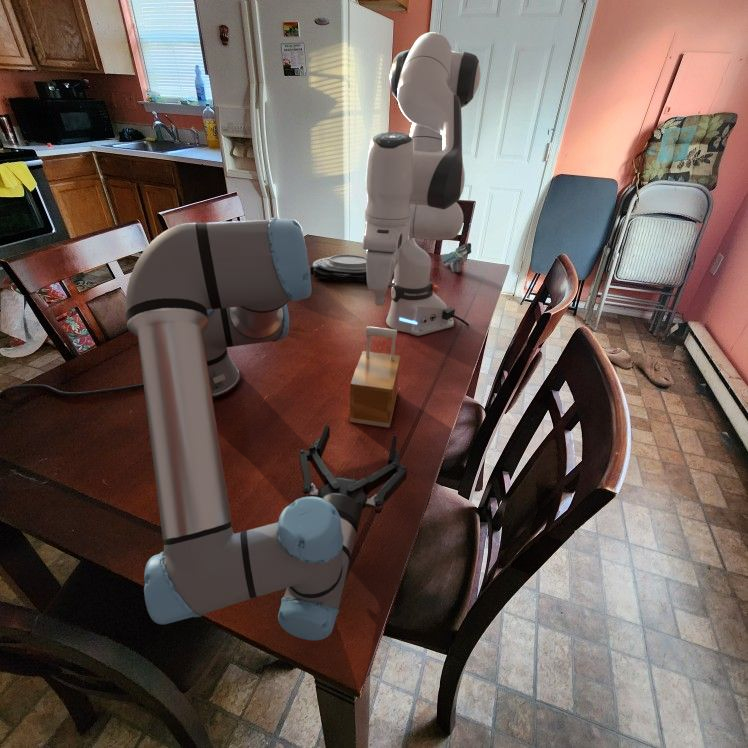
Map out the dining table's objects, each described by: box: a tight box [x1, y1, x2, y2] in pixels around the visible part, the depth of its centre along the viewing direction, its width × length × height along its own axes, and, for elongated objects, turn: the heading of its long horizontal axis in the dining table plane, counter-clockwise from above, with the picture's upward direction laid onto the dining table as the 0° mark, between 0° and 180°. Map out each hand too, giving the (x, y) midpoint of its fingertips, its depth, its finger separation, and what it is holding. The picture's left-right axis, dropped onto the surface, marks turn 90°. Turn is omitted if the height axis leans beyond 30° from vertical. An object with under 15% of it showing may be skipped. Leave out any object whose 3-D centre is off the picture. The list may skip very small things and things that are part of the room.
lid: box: [349, 325, 401, 393], centre depth 92 cm, size 14×9×9 cm
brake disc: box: [310, 254, 367, 283], centre depth 171 cm, size 32×30×5 cm
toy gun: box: [441, 242, 472, 273], centre depth 173 cm, size 4×19×10 cm
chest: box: [349, 361, 401, 428], centre depth 97 cm, size 13×9×10 cm
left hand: (360, 435), depth 82 cm, fingers open, 13 cm apart
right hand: (383, 294), depth 88 cm, fingers open, 8 cm apart
